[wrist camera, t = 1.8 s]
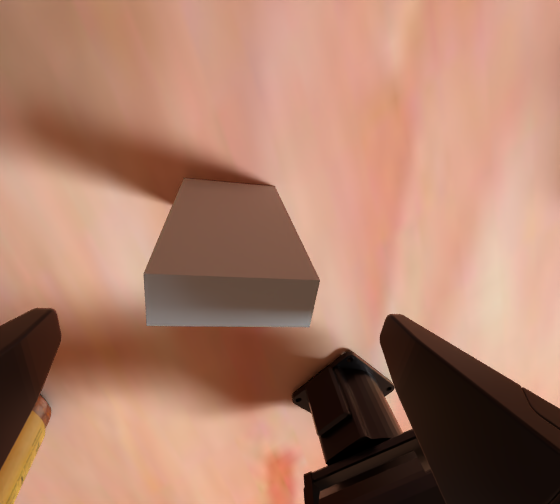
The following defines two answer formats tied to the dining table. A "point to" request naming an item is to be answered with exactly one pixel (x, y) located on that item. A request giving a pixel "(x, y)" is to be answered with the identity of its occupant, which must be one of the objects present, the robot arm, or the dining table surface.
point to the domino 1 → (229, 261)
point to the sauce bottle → (23, 452)
